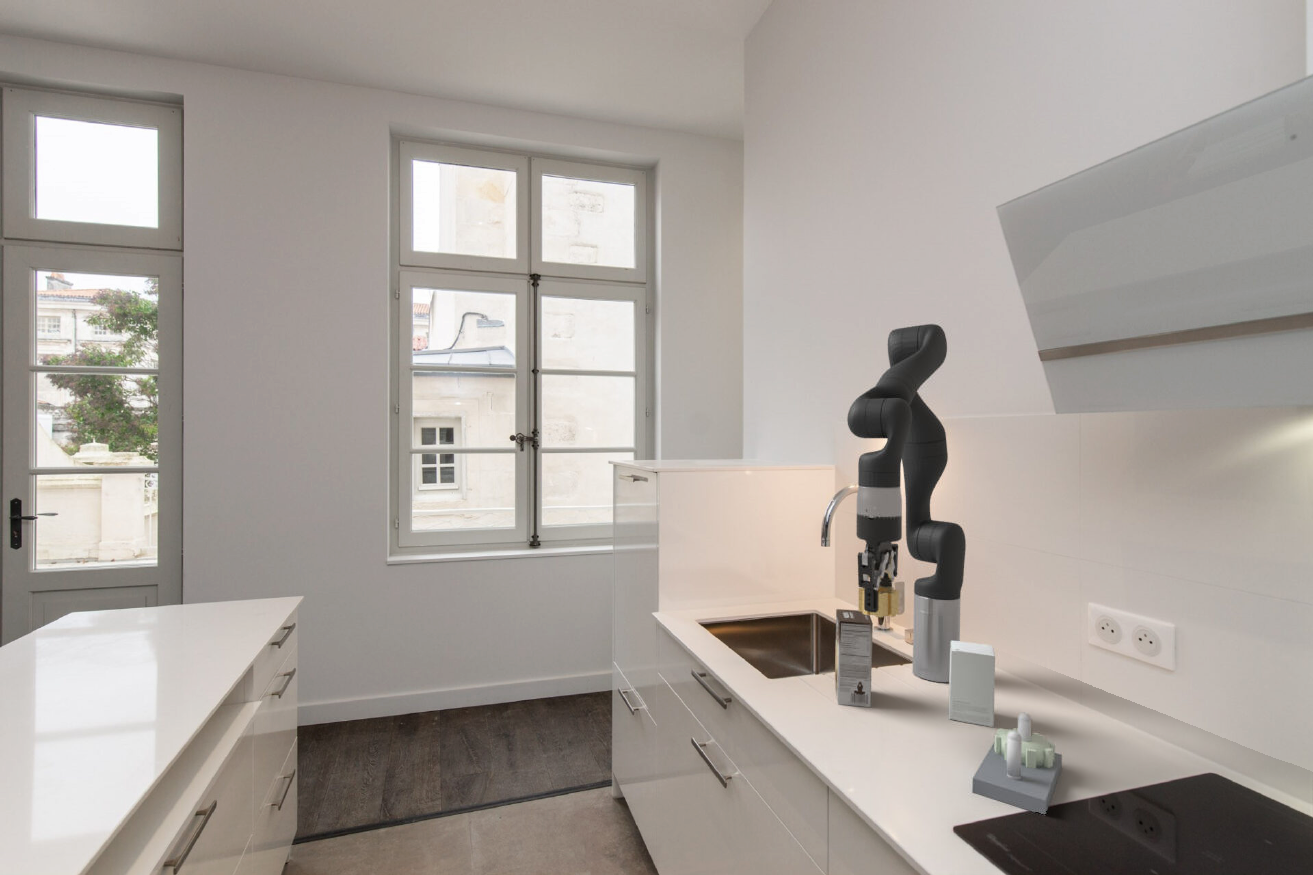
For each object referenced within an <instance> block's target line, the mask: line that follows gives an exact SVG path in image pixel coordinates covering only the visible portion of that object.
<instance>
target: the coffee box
mask: <svg viewBox="0 0 1313 875" xmlns="http://www.w3.org/2000/svg"><path fill="white" fill-rule="evenodd" d="M835 611H836V614H835V616H836V617H835V619H836V620H835V657H834V658H835V661H834V662H835V663H834V664H835V666H834V668H835V669H834V670H835V671H834V688H835V696H836V702H837V704H838V705H843V706H852V707H853V706H855V707H862V708H863V707H865V708H871V707H872V706H871V705H872V667H873V666H872V663H873V662H872V660H873V635H874V634H873V632H874V631H873V625H874V623H873V621H872V617H871V615H865V614H862V612H859V610H857V609H854V610H853V609H841V608H837V609H836V610H835Z"/></svg>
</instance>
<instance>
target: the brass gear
mask: <svg viewBox="0 0 1313 875" xmlns="http://www.w3.org/2000/svg"><path fill="white" fill-rule="evenodd" d="M894 588H895V587H893V586H892V587H883V586H881V585H879V589H878V591H879V602H878V611H877V612H875V613H874V612H868V611H866V610H865V609H864V589H863V588H862V587H859V586H858V610H859V612H862V614H865V615H870V616H875V617H876V618H884V617H890V618H894V617H896V616H897V615H899V614H900V613H899V611H900V610H899V609H900V608H899V607H900V606H899V604H900V603H899V602H900V600H899V599H900V594H899V589H894Z"/></svg>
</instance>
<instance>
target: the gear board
mask: <svg viewBox="0 0 1313 875" xmlns="http://www.w3.org/2000/svg"><path fill="white" fill-rule="evenodd" d="M996 731H997V732H996V733H994V742H993V743H992V744H991V747H990V748H989V750H988V752H987V753H986V755H985V757H984V759H983V760H982V761H981V763H980V765H979V767H978V768H977V770H976V772H975V773H974V775H973V777H972V788H971V790H972V791H971V792H972V793H974V794H977V795H980V796H984V797H986V798H989V799H993V800H994V801H995V800H996V801H998V802H1001V803H1005V804H1008V805H1011V806H1014V807H1017V808H1021V809H1024V810H1027V811H1030V812H1031V813H1032V812H1033V813H1035V812H1039V813H1041V814H1046V815H1047V812H1048V809H1049V806H1050V803H1051V800H1052V798H1053V794H1054V791H1055V788H1056V785H1057V783H1058V779H1059V776H1060V774H1061V771H1062V766H1063V754H1060V753H1058V752H1056V744H1055V743H1054V741H1052V740H1047V739H1046V738H1045V737H1044V735H1042V734H1040V733H1038V732H1033V719H1032V717H1031V716H1030V714H1028V713H1026V712H1021V713H1019V714H1018V716H1017V727H1013V728H1012V729H1005V728H998V729H997V730H996ZM1046 811H1047V812H1046ZM1041 814H1040V815H1041Z"/></svg>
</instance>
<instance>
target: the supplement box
mask: <svg viewBox="0 0 1313 875" xmlns="http://www.w3.org/2000/svg"><path fill="white" fill-rule="evenodd" d="M995 676H996V654H995V650H994V645H989V644H984V643H983V644H982V643H975V642H968V641H961V640H960V641H951V647H950V674H949V682H948V683H949V684H948V718H949V720H953V721H959V722H963V723H968V724H974V725H977V726H978V725H980V726H985V727H990V728H992V727H994V725H995V679H996V678H995Z"/></svg>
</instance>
